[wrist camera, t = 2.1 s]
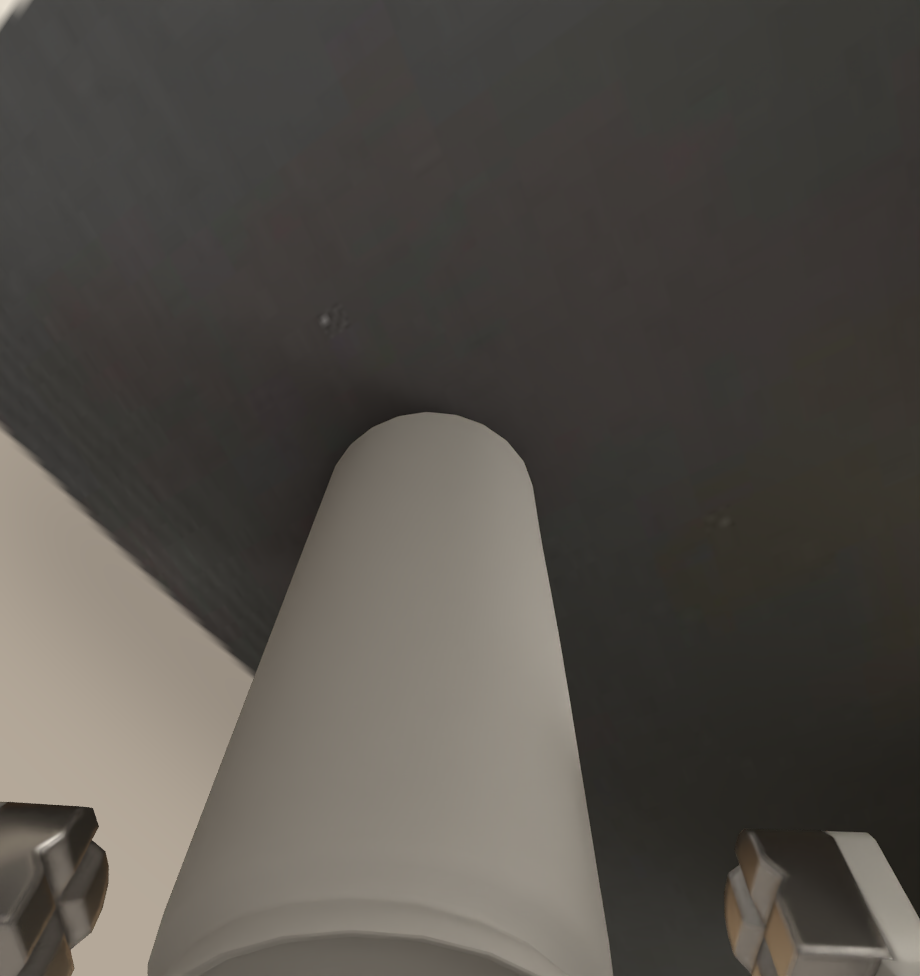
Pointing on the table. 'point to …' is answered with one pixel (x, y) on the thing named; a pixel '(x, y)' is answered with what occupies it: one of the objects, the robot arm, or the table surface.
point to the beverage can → (402, 743)
